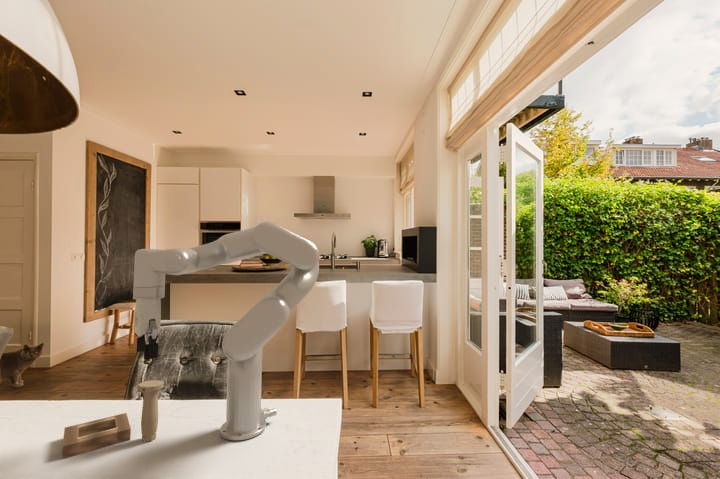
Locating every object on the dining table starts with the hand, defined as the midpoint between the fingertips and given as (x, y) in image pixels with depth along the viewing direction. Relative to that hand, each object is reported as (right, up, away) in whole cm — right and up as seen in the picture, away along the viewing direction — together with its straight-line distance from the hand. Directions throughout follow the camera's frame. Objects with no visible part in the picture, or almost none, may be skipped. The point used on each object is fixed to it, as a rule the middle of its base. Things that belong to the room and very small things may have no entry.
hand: (146, 354), depth 94 cm
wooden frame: (-13, -23, -2) cm, 26 cm away
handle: (+2, -23, -2) cm, 23 cm away
